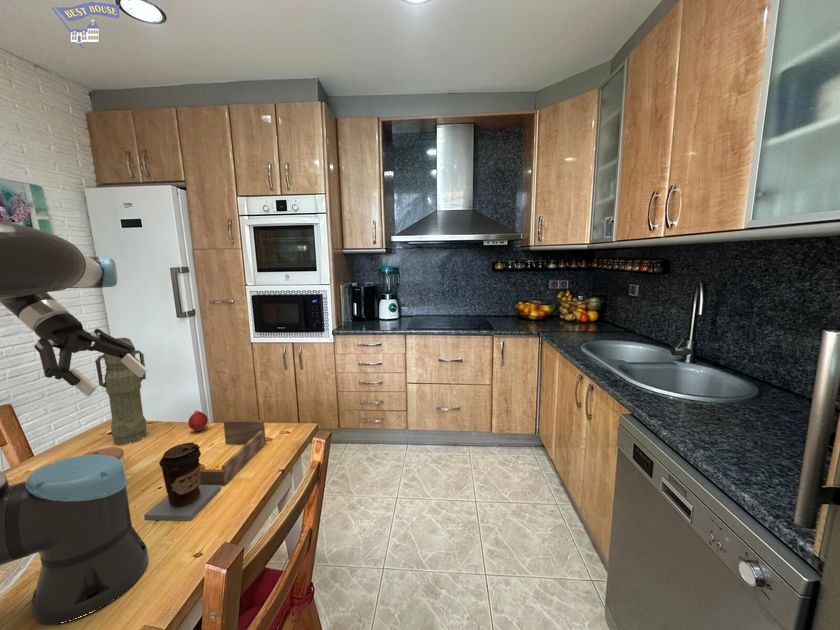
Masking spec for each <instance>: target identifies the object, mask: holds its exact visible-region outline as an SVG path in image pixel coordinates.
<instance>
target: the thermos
mask: <svg viewBox="0 0 840 630" xmlns="http://www.w3.org/2000/svg"><path fill="white" fill-rule="evenodd" d="M116 339H118V340H120V341H122V342H124V343H126V344H128V345H130V346H132V347H134V348H135V345H134V344H133V342H132V341H131V339H130V338H127V337H118V338H116ZM121 354H122V353H121ZM137 354H139V355H138V356H139V363H141V364H142V365H143V366H144V367H145V365H146V364H145V356H144V353H143V352H141V350H139V349H138V350H136V349H135V350H134V351H133V352H132V355H133V356H134V357H136V355H137ZM102 359H104V365H105V374H104V377H103V373H102V367H101V360H102ZM121 360H122V359H121V358H118V357H115V356H111V355H108V354H105V353H102V354H101V355H99V356H98V357H97V358H96V359H95V361H94V363H95V365H96V373H97V377H98V379H97V380H98V386H100V387H102V388H105V392H106V394H107V395H108V399H109V405H110V412H111V420H112V421H111V425H110V431H111V437H112V438H113V444H114V443H115V444H126V443H130V442H134V441H137V440H139V439H141V438H143V437H145V436H146V434H147V435H148V433H147V419H146V418H145V416H144V412H143V411H144V410H143V403H142V397H141V388H142V381H143V380H146V379H147V377H146V376H147V375H146V374H147V371H146V372H145V373H144V375H143V376H142V377H138V376H137V375H136V374H135V373H134V372H132V371H131V370H130V369H129V368H128V367H127V366H126V365H125V364H123V363H122V362H121ZM145 368H146V367H145ZM103 378H104V379H103ZM146 437H147V436H146ZM146 437H145V438H146ZM115 444H114V445H115Z"/></svg>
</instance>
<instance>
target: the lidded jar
mask: <svg viewBox="0 0 840 630" xmlns="http://www.w3.org/2000/svg"><path fill="white" fill-rule="evenodd" d="M124 453H125V452H124V449H123V447H118V446H112V447H103V448H99V449H96V450H95V449H94V450H93V451H89V452H87V453H84V454H81V455H80V456H82V455H91V454H103V455H108V456H113V457H115V458H117V459H119V460H120V461H121V463H122V465H123V466H124V464H125V459H124V458H125V457H124Z"/></svg>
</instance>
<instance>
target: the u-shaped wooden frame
mask: <svg viewBox="0 0 840 630" xmlns="http://www.w3.org/2000/svg"><path fill="white" fill-rule="evenodd" d="M223 429H224V430H223V432H224V441H225V445H226V444H232V445H233V444H234V445H237V446H240V445H241V446H242V447H240V448H239V449H238V450H237V452H236V453H234V454H233V455H231V457H230V458H228V459H227V461H226V462H224V464H221V469H215V468H213V469H212V468H207V469H205V468H204V469H203V468H200V480H201V482H200V484H199V485H221V487H223V486H224V487H225V486H226V485H227V484H228V483H229V482H230V481H231V480H232V479H233V478H234V477H235V476H236V474H237V473H239V472H240V471H241V469H243V468H244V466H246V464H247V463H248V462H249V461H250V460H251V459H252V458H253V457H254V456H255V455H256V454H257V453H258V452H259V451H260V450H261V449H262V448H263V447H264V446H265V444H266V431H265V421H264V420H243V419H242V420H237V419H236V420H233V419H230V420H227V419H226V420H223ZM232 445H231V446H232Z"/></svg>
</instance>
